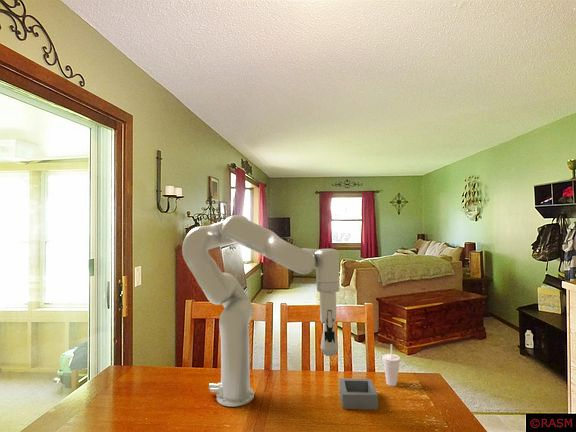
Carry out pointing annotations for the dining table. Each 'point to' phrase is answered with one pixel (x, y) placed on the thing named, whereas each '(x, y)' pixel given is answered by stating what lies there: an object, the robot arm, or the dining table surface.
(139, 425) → the dining table surface
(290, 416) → the dining table surface
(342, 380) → the socket holder
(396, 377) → the smoothie
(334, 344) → the salt shaker
